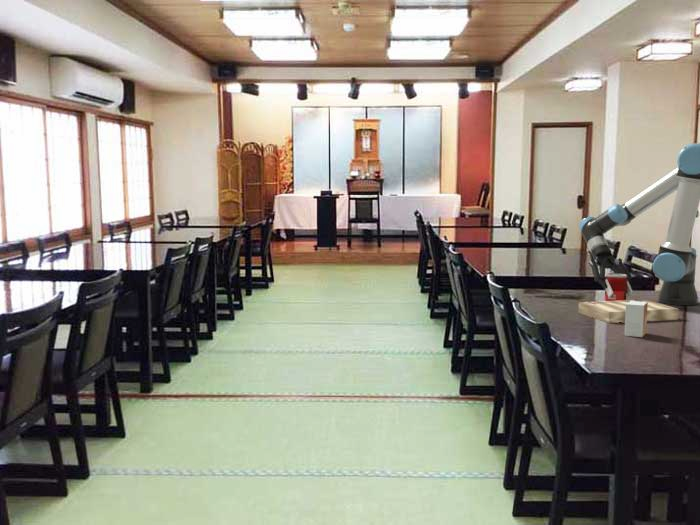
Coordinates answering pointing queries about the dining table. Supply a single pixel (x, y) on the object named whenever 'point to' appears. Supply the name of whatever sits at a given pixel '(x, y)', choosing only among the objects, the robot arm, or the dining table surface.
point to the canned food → (617, 286)
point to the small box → (636, 318)
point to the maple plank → (617, 310)
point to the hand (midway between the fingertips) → (620, 294)
